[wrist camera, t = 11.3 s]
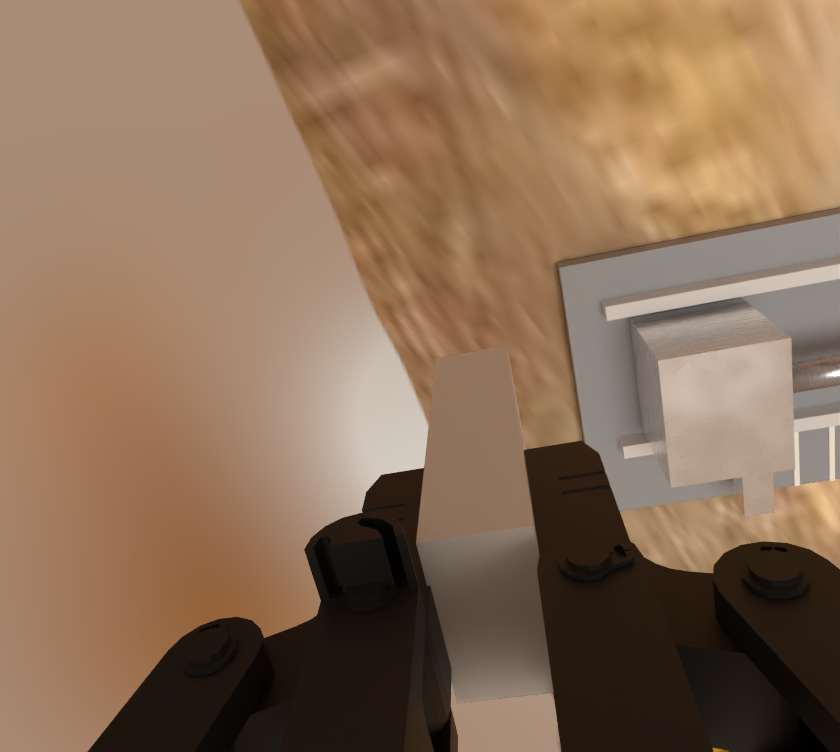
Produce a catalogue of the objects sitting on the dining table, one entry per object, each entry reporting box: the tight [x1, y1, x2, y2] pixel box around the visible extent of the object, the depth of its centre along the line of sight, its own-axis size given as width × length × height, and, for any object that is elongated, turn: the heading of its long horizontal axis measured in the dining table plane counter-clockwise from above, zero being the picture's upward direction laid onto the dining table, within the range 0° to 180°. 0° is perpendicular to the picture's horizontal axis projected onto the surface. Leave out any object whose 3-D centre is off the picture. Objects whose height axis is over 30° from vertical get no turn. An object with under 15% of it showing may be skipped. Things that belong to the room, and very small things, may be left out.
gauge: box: [630, 298, 840, 517], centre depth 38 cm, size 12×14×6 cm
